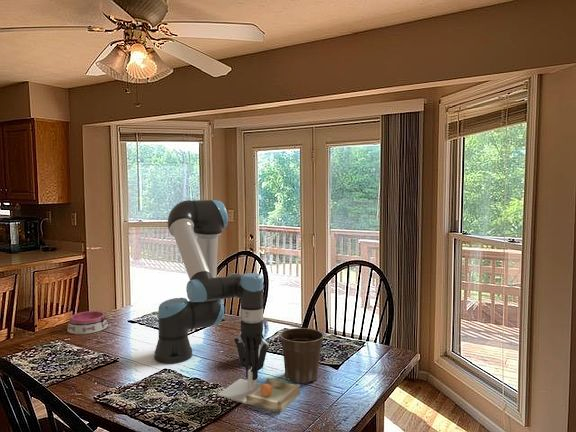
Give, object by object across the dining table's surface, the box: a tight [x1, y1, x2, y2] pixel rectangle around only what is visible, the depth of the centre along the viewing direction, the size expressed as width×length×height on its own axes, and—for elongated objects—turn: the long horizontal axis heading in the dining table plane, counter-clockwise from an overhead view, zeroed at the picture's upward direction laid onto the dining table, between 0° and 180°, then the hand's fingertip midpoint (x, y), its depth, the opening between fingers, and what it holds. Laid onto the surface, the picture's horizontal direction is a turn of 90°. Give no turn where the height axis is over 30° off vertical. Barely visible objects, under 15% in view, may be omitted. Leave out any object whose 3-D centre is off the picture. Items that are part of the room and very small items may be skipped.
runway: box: [216, 378, 301, 414], centre depth 151 cm, size 24×14×1 cm, turn 63°
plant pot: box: [279, 327, 325, 384], centre depth 165 cm, size 16×16×16 cm
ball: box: [260, 383, 272, 397], centre depth 149 cm, size 4×4×4 cm
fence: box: [246, 378, 301, 413], centre depth 148 cm, size 12×14×4 cm
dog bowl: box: [66, 310, 109, 335], centre depth 219 cm, size 18×19×7 cm
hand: (251, 388), depth 152 cm, fingers closed
